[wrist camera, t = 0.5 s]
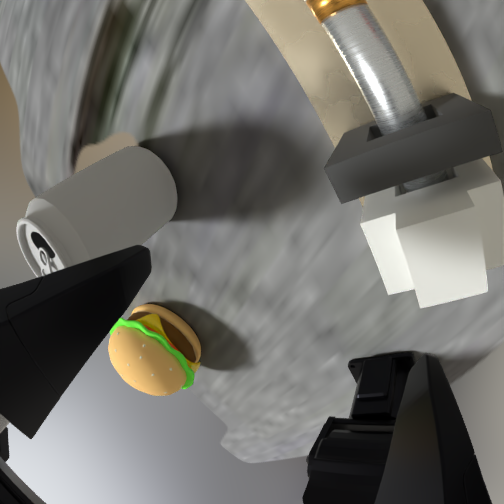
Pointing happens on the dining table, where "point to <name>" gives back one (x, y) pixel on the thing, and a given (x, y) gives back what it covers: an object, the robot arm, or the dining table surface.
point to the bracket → (438, 234)
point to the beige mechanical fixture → (365, 62)
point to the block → (412, 148)
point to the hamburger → (155, 350)
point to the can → (98, 211)
